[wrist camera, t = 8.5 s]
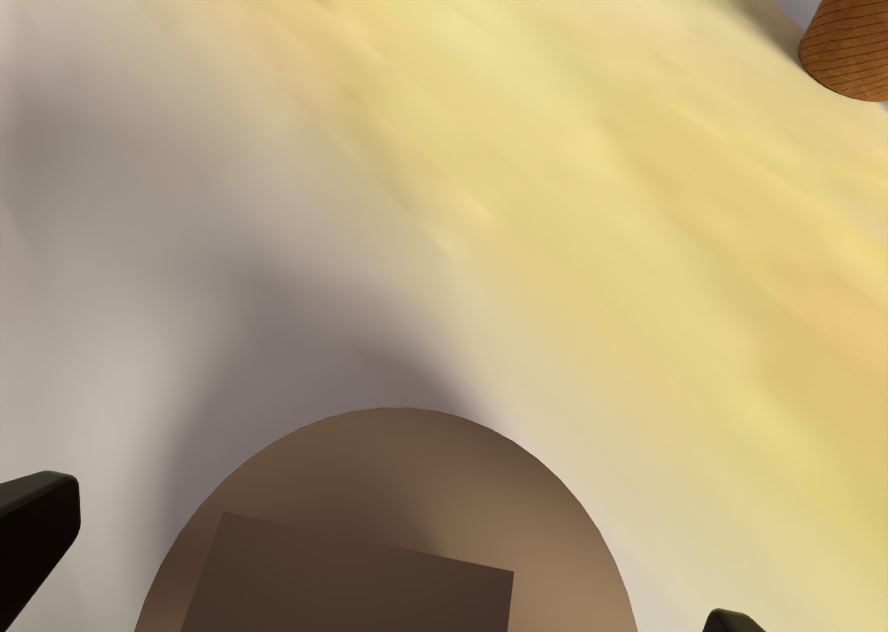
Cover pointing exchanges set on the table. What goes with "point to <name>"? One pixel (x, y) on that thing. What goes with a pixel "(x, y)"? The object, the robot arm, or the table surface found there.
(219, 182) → the table surface
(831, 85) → the disposable coffee cup
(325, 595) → the walnut lid
